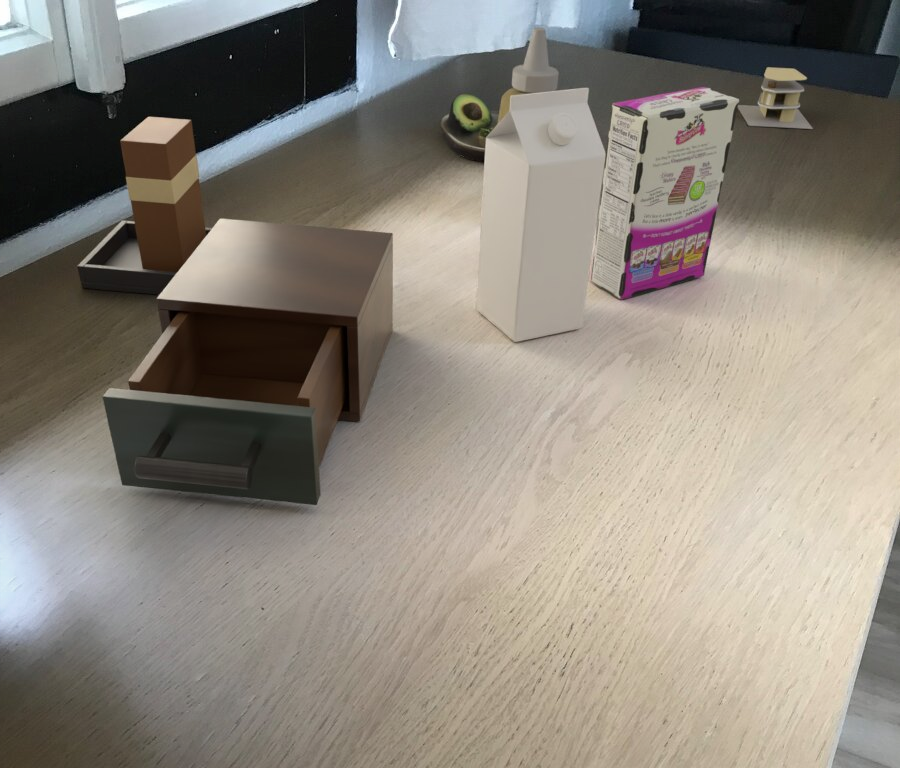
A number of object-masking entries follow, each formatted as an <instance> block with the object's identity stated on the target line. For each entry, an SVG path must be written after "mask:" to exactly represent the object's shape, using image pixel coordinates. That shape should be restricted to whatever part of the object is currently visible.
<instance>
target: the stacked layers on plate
mask: <svg viewBox="0 0 900 768" xmlns="http://www.w3.org/2000/svg"><path fill="white" fill-rule="evenodd" d="M763 76H764V78H763V81H762V83H761V87H760V88H761V90H762V92H760V95H759V96H758V97H759V98H758V100H757V105H747V104H738V108H737V110H738V111H739V112H740V114H741V116H742V117H743V119H744V120H745V122H746V124H747V125H748V126H749V127H765V128H766V127H768V128H788V129H803V130H804V129H805V130H814V128H813V126H812V125H811V124H810V123H809V122H808V120H807V119H806V117H805V116H804V115H803V114H802V112H801V111H800V110H799V109H798V108H800V107H801V103H800V102H799V100H800V96H801V93H803V92H805V87H804V86H803V85H801V84H800V83H799V82H797V81H806V80H807V79H808V77H807V76H805V75H804V74H803V73H801V72H800V71H798V70H797V69H796V68H790V67H789V68H788V67H787V68H786V67H770V66H768V67H766V69H765V72H764V74H763Z"/></svg>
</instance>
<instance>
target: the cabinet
mask: <svg viewBox="0 0 900 768" xmlns="http://www.w3.org/2000/svg"><path fill="white" fill-rule="evenodd" d="M211 228H212V229H211V230H210V232H209V233H208V234H207V235H206V237H205V238H204V239H203V241H202V242H201V243H200V244H199V246H198V247H197V248H196V249H195V251H194V252H193V253H192V254H191V256H190V257H189V258H188V260H187V261H186V262H185V263H184V265H183V266H182V267H181V268H180V270H179V271H178V272H177V274H176V275H175V276H174V277H173V279H172V280H171V281H170V282H169V284H168V285H167V286H166V287H165V289H164V290H163V291H162V293H161V294H160V295H157V297H156V304H157V310H158V315H159V322H160V327H161V333H162V334H163V333H164V331H165V330H166V328H167V327H168V326H169V324H170V323H171V322H172V320H173V319H174V318H175V316H176V315H177V313H178V312H179V311H187V312H198V313H209V314H220V315H231V316H242V317H253V318H264V319H275V320H286V321H297V322H308V323H319V324H330V325H341V326H346V330H347V359H348V390H349V392H348V394H347V397H346V399H345V402H344V404H343V407H342V410H341V412H340V415H339V417H338V420H339V421H346V422H347V421H348V422H357V423H358V422H361V420H362V418H363V415H364V412H365V408H366V406H367V403H368V400H369V397H370V394H371V392H372V389H373V386H374V383H375V381H376V378H377V375H378V372H379V369H380V366H381V363H382V361H383V358H384V355H385V352H386V349H387V347H388V344H389V341H390V338H391V336H392V332H393V330H394V329H393V328H394V327H393V326H394V322H393V321H394V301H393V300H394V296H393V295H394V243H393V241H394V240H393V239H394V233H393V232H384V231H371V230H362V229H361V230H359V229H350V228H349V229H348V228H336V227H334V228H333V227H326V226H316V225H315V226H313V225H301V224H290V223H280V222H279V223H277V222H267V221H266V222H265V221H254V220H243V219H230V218H218V220H217V222H216V223H215V224H214V225H213V226H212V227H211ZM162 334H161V335H162ZM338 420H337V421H338Z"/></svg>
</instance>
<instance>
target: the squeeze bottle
mask: <svg viewBox="0 0 900 768" xmlns="http://www.w3.org/2000/svg"><path fill="white" fill-rule="evenodd" d="M546 31H547V30H546V28H544V27H534V28H532V32H531V36H530V40H529V44H528V47H527V51H526V54H525V57H524V62H523V64H519V65H515V66H514V67H513V68H512V73H511V74H512V75H511V86H512V88H509V89H508V90H506V91H505V92H504V93H503V95H502V96H501V99H500V104H499V105H500V106H499V110H498V111H499V117H498V123H499V122H500V121H501V120H502V119H503V118H504V116H505V115H506V114H507V113H508V112H509V109H510V97H511V96H512V95H521V94H531V93H540V92H550V91H557V89H558V85H559V84H558V83H559V75H560V72H559V71H558V69H557V68H555V67H553V66H550V64H549V52H548V42H547V41H548V40H547V33H546Z"/></svg>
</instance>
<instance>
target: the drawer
mask: <svg viewBox="0 0 900 768" xmlns="http://www.w3.org/2000/svg"><path fill="white" fill-rule="evenodd" d="M127 384H128V388H129V389H124V388H113V387H108V388H107V390H106V391H105V392H104V394H103V395H102V403H103V407H104V410H105V415H106V419H107V424H108V429H109V433H110V438H111V443H112V446H113V451H114V455H115V460H116V465H117V468H118V474H119V478H120V482H121V486H124V487H125V486H126V487H135V488H145V489H155V490H164V491H165V490H166V491H175V492H185V493H192V494H202V495H203V494H204V495H214V496H223V497H233V498H243V499H252V500H261V501H271V502H281V503H282V502H283V503H291V504H300V505H310V506H318V503H319V501H320V498H321V480H320V479H321V478H320V466H321V464H322V461H323V459H324V456H325V454H326V450H327V448H328V446H329V443H330V440H331V438H332V436H333V433H334V430H335V428H336V425H337V422H338V417H339V415H340V412H341V410H342V407H343V404H344V402H345V399H346V397H347V394H348V392H349V390H348V359H347V330H346V326H341V325H330V324H319V323H308V322H297V321H286V320H275V319H264V318H253V317H242V316H231V315H220V314H209V313H198V312H187V311H179V312H178V313H177V315H176V316H175V318H174V319H173V320H172V322H171V323H170V324H169V326H168V327H167V328H166V330H165V331H164V333H163V334H161V335H160V337H159V338H158V339H157V341H156V342H155V343H154V345H153V346H152V347H151V349H150V350H149V351H148V353H147V354H146V356H144V358H143V360H142V361H141V362H140V364H139V365H138V367H137V368H136V369H135V371H134V372H133V373H132V375H131V376H130V378H129V379H128V380H127Z"/></svg>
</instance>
